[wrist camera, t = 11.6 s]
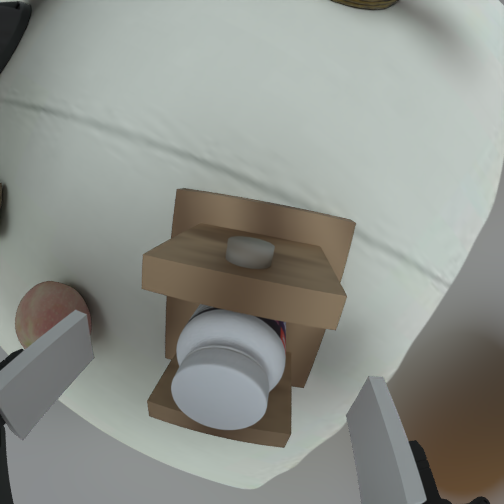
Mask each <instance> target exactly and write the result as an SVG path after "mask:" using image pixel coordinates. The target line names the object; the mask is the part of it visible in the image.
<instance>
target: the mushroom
mask: <svg viewBox="0 0 504 504" xmlns="http://www.w3.org/2000/svg"><path fill="white" fill-rule="evenodd" d="M1 204H2V184H1V183H0V208H1Z"/></svg>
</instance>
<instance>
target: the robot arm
mask: <svg viewBox="0 0 504 504" xmlns="http://www.w3.org/2000/svg"><path fill="white" fill-rule="evenodd" d="M30 14H31V6H30V5H28V4H26V3H23V2H20V1H16V2H0V72H1V71H2V69H3V68H4V66H5V65H6V63H7V61H8V60H9V58H10V56H11V55H12V53H13V51H14V50H15V48H16V46H17V44H18V42H19V40H20V38H21V36H22V34H23V32H24V30H25V28H26V26H27V23H28V21H29V18H30ZM93 359H94V354H93V349H92V344H91V338H90V332H89V326H88V319H87V314H85V313H82V312H80V311H77V310H74V311H73V312H72V313H70V314H69V315H68V316H67V317H65V318H64V319H63V320H61V321H60V322H59V323H57V324H56V325H55V326H54V327H52V328H51V329H50V330H49V331H47V332H46V333H45V334H44V335H42V336H41V337H40V338H39V339H37V340H36V341H35V342H34V343H32V344H31V345H30V346H29V347H28V348H26V349H25V350H23V349H20V350H18V351H15V352H13V353H11V354H10V355H9V356H8V357H7V358H6V359H5V360H3V361H2V362H1V363H0V504H14V503H13V499H12V494H11V488H10V482H9V475H8V466H7V456H6V439H5V428H4V426H3V425H4V424H5V423H6V424H7V425H8V427H9V428H10V430H11V431H12V432H13V433H14V434H15V435H17V436H18V437H19V438H20V439H21V440H24V439H25V438H26V436H27V435H28V434H29V433H30V431H31V430H32V429H33V427H34V426H35V425H36V424H37V423H38V422H39V420H40V419H41V418H42V417H43V416H44V414H45V413H46V412H47V411H48V410H49V409H50V407H51V406H52V405H53V404H54V403H55V401H56V400H57V399H58V398H59V397H60V396H61V395H62V393H63V392H64V391H65V390H66V389H67V388H68V387H69V385H70V384H71V383H72V382H73V381H74V380H75V379H76V378H77V376H78V375H79V374H80V373H81V372H82V371H83V370H84V369H85V368H86V366H87V365H88V364H89V363H90V362H91V361H92V360H93ZM346 417H347V422H348V427H349V432H350V437H351V442H352V448H353V453H354V459H355V465H356V470H357V476H358V483H359V490H360V497H361V504H452V503H451V502H450V501H448V500H447V499H441V497H440V495H439V493H438V490H437V487H436V484H435V481H434V478H433V475H432V472H431V469H430V468H429V463H428V461H427V460H426V455H425V452H424V449H423V448H422V447H421V446H420V444H419V443H418V442H417V441H416V440H415V441H408V439H407V436H406V434H405V431H404V428H403V426H402V423H401V420H400V418H399V415H398V413H397V410H396V407H395V405H394V402H393V400H392V397H391V395H390V392H389V390H388V388H387V385H386V383H385V380H384V378H383V377H375V376H368V378H367V380H366V382H365V384H364V386H363V387H362V389H361V391H360V393H359V394H358V396H357V398H356V400H355V401H354V403H353V405H352V406H351V408H350V410H349V411H348V413H347V415H346ZM468 504H490V502H489V501H488V500H487V499H486V498H485V497H477V498H476V499H474V500H473V501H471V502H470V503H468Z"/></svg>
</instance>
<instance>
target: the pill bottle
mask: <svg viewBox="0 0 504 504" xmlns="http://www.w3.org/2000/svg"><path fill="white" fill-rule="evenodd" d="M176 352H177V360H178V364H179V368H178V370H177V372H176V374H175V376H174V378H173V380H172V385H171V391H172V396H173V399H174V401H175V403H176V404H177V406H178V407H179V408H180V409H181V411H182V412H183V413H185V414H186V415H187V416H188V417H190V418H191V419H193V420H194V421H196V422H198V423H200V424H202V425H205V426H208V427H211V428H215V429H222V430H237V429H243V428H246V427H249V426H251V425H253V424H255V423H257V422H258V421H259V420H260V419H261V418H262V417H263V415H264V414H265V412H266V409H267V403H268V395H269V392H270V391H271V390H272V389H273V388H274V387H275V386H276V385H277V384H278V382H279V381H280V379H281V377H282V375H283V372H284V368H285V360H286V322H283V321H278V320H272V319H267V318H262V317H257V316H252V315H247V314H243V313H238V312H233V311H229V310H224V309H220V308H215V307H211V306H207V305H202V304H200V305H199V306H198V308H197V309H196V311H195V312H194V314H193V315H192V317H191V318H190V320H189V321H188V323H187V324H186V325H185V327H184V329H183V331H182V332H181V334H180V336H179V339H178V342H177V349H176Z"/></svg>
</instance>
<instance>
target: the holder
mask: <svg viewBox="0 0 504 504" xmlns="http://www.w3.org/2000/svg"><path fill="white" fill-rule="evenodd" d="M355 225H356V223H355V222H353V221H352V220H349V219H345V218H341V217H336V216H332V215H328V214H323V213H318V212H314V211H309V210H304V209H300V208H295V207H290V206H285V205H280V204H275V203H269V202H264V201H259V200H253V199H248V198H242V197H236V196H230V195H224V194H218V193H212V192H206V191H199V190H193V189H186V188H183V189H177V191H176V199H175V207H174V215H173V224H172V234H171V239H170V240H168V241H166V242H164V243H162V244H161V245H159V246H157V247H155V248H153V249H152V250H150V251H148V252H146V253H145V254H143V262H142V289H144V290H148V291H152V292H155V293H159V294H163V295H166V296H167V302H166V334H165V358H167V359H171V362H170V364H169V365H168V367H167V369H166V370H165V372H164V374H163V375H162V377H161V379H160V380H159V382H158V384H157V385H156V387H155V389H154V390H153V392H152V394H151V395H150V397H149V399H148V400H147V403H148V411H149V416H151V417H153V418H156V419H159V420H162V421H165V422H168V423H171V424H174V425H177V426H181V427H184V428H187V429H191V430H194V431H198V432H202V433H206V434H210V435H214V436H218V437H223V438H227V439H232V440H237V441H242V442H248V443H254V444H260V445H267V446H274V447H283V448H284V447H285V445H286V443H287V441H288V439H289V437H290V435H291V386H293V387H300V388H304V386H305V383H306V381H307V378H308V376H309V373H310V371H311V368H312V366H313V363H314V360H315V358H316V355H317V352H318V350H319V347H320V344H321V341H322V338H323V336H324V333H325V330H326V329H331V330H336V328H337V325H338V322H339V319H340V316H341V313H342V310H343V307H344V304H345V301H346V298H347V295H346V293H345V291H344V289H343V287H342V286H341V284H340V282H341V279H342V275H343V272H344V268H345V264H346V261H347V257H348V253H349V249H350V245H351V241H352V237H353V233H354V229H355ZM200 304H202V305H207V306H211V307H215V308H220V309H224V310H229V311H233V312H238V313H243V314H247V315H252V316H257V317H262V318H267V319H272V320H278V321H283V322H286V360H285V368H284V372H283V375H282V377H281V379H280V381H279V382H278V384H277V385H276V386H275V387H274V388H273V389H272V390H271V391H270V392H269V395H268V403H267V409H266V412H265V414H264V415H263V417H262V418H261V419H260V420H259V421H258V422H257V423H255V424H253V425H251V426H249V427H246V428H243V429H237V430H222V429H215V428H211V427H208V426H205V425H202V424H200V423H198V422H196V421H194V420H193V419H191V418H190V417H188V416H187V415H186V414H185V413H183V412H182V411H181V409H180V408H179V407H178V406H177V404H176V403H175V401H174V399H173V396H172V391H171V385H172V380H173V378H174V376H175V374H176V372H177V370H178V368H179V364H178V360H177V352H176V349H177V342H178V339H179V336H180V334H181V332H182V331H183V329H184V327H185V325H186V324H187V323H188V321H189V320H190V318H191V317H192V315H193V314H194V312H195V311H196V309H197V308H198V306H199V305H200Z"/></svg>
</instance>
